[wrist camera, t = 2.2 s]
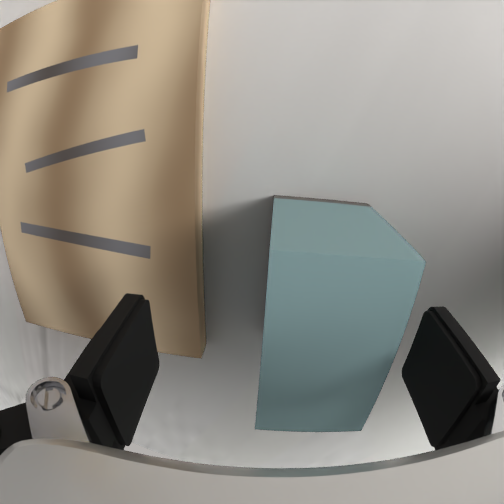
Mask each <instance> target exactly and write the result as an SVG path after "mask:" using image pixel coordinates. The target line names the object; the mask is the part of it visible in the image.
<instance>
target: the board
mask: <svg viewBox="0 0 504 504" xmlns="http://www.w3.org/2000/svg"><path fill="white" fill-rule="evenodd" d="M209 8H210V0H57V1H55V2H52V3H50V4H48V5H45V6H43V7H41V8H39V9H37V10H35V11H33V12H30V13H28V14H26V15H24V16H23V17H21V18H19V19H17V20H15V21H13V22H11V23H9V24H8V25H6V26H4V27H2V28H1V29H0V227H1V232H2V237H3V242H4V246H5V251H6V255H7V259H8V263H9V267H10V271H11V275H12V278H13V282H14V285H15V289H16V292H17V295H18V299H19V302H20V305H21V308H22V311H23V314H24V317H25V319H26V322H29V323H33V324H36V325H40V326H43V327H47V328H50V329H54V330H58V331H62V332H65V333H69V334H73V335H77V336H81V337H86V338H90V339H92V338H93V336H94V335H95V334H96V332H97V331H98V330H99V329H100V328H101V327H102V325H103V324H104V322H105V321H106V320H107V318H108V317H109V315H110V314H111V313H112V311H113V310H114V309H115V307H116V306H117V305H118V303H119V302H120V300H121V299H122V298H123V296H124V295H125V294H126V293H130V294H140V295H143V296H144V298H145V299H146V300H149V302H150V308H151V315H152V322H153V329H154V335H155V341H156V347H157V352H161V353H167V354H173V355H180V356H187V357H194V358H202V355H203V352H204V349H205V346H206V330H205V309H204V282H203V241H202V152H203V112H204V87H205V66H206V49H207V34H208V20H209Z"/></svg>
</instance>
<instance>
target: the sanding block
mask: <svg viewBox="0 0 504 504" xmlns="http://www.w3.org/2000/svg"><path fill="white" fill-rule="evenodd" d="M425 263H426V261H425V260H424V259H423V258H422V257H421V256H420V255H419V254H418V253H417V251H416V250H415V249H414V248H413V247H412V246H411V245H410V244H409V243H408V242H407V241H406V240H405V239H404V238H403V237H402V236H401V235H400V234H399V233H398V232H397V231H396V230H395V229H394V228H393V227H392V226H391V225H390V224H389V223H388V222H387V221H386V220H385V219H384V218H383V217H382V216H380V215H379V214H378V213H377V212H376V211H375V210H374V209H373V208H372V207H371V206H370V205H369V204H366V203H357V202H347V201H337V200H326V199H315V198H303V197H291V196H277V195H274V204H273V216H272V227H271V239H270V250H269V265H268V278H267V292H266V305H265V318H264V331H263V343H262V355H261V367H260V378H259V390H258V401H257V412H256V423H255V429H260V430H274V431H297V432H342V431H361V430H362V428H363V426H364V424H365V422H366V420H367V418H368V416H369V414H370V412H371V410H372V408H373V406H374V404H375V402H376V400H377V398H378V395H379V393H380V391H381V389H382V387H383V384H384V382H385V380H386V377H387V375H388V373H389V370H390V368H391V365H392V363H393V360H394V358H395V355H396V353H397V350H398V348H399V345H400V342H401V340H402V337H403V334H404V331H405V329H406V326H407V323H408V320H409V317H410V314H411V311H412V308H413V305H414V302H415V298H416V295H417V292H418V289H419V285H420V282H421V278H422V275H423V271H424V267H425Z"/></svg>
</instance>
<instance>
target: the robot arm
mask: <svg viewBox="0 0 504 504" xmlns="http://www.w3.org/2000/svg"><path fill="white" fill-rule="evenodd" d="M158 369H159V358H158V352H157V347H156V341H155V335H154V329H153V322H152V315H151V308H150V302H149V300H146V299H145V298H144V296H143V295H140V294H130V293H126V294H125V295H124V296H123V298H122V299H121V300H120V302H119V303H118V305H117V306H116V307H115V309H114V310H113V311H112V313H111V314H110V315H109V317H108V318H107V320H106V321H105V322H104V324H103V325H102V327H101V328H100V329H99V330H98V331H97V332H96V334H95V335H94V336H93V338H92V339H91V341H90V342H89V344H88V345H87V347H86V348H85V349H84V351H83V352H82V354H81V355H80V357H79V358H78V360H77V361H76V363H75V364H74V366H73V367H72V369H71V370H70V372H69V373H68V375H67V376H66V378H65V379H64V380H62V379H60V378H57V377H47V378H43V379H40V380H38V381H36V382H35V383H34V384H32V385H31V387H30V388H29V389H28V391H27V394H26V403H23V404H20V405H17V406H14V407H10V408H7V409H4V410H1V411H0V504H504V385H503V386H502V387H501V388H500V389H499V390H498V389H497V385H498V383H499V382H500V378H499V377H498V376H497V374H496V373H495V371H494V370H493V368H492V367H491V366H490V364H489V363H488V361H487V360H486V359H485V357H484V356H483V355H482V353H481V352H480V351H479V349H478V348H477V347H476V345H475V344H474V343H473V341H472V340H471V339H470V337H469V336H468V335H467V333H466V332H465V331H464V330H463V328H462V327H461V326H460V325H459V323H458V322H457V321H456V320H455V318H454V317H453V316H452V315H451V313H450V312H449V311H448V310H447V309H446V308H445V307H430V308H429V309H428V310H427V311H426V312H424V314H423V317H422V320H421V322H420V325H419V328H418V331H417V333H416V336H415V339H414V341H413V344H412V346H411V349H410V351H409V354H408V356H407V359H406V361H405V363H404V366H403V368H402V377H403V380H404V382H405V384H406V387H407V389H408V391H409V393H410V396H411V398H412V400H413V403H414V405H415V407H416V410H417V412H418V415H419V417H420V420H421V422H422V424H423V427H424V429H425V432H426V435H427V437H428V440H429V442H430V444H431V446H432V447H435V451H431V452H426V453H422V454H417V455H412V456H407V457H402V458H397V459H391V460H385V461H378V462H371V463H364V464H355V465H346V466H334V467H319V468H285V469H281V468H245V467H230V466H218V465H208V464H200V463H192V462H185V461H178V460H172V459H165V458H159V457H153V456H149V455H143V454H138V453H133V452H129V451H125V450H124V447H125V445H126V446H129V445H130V444H131V442H132V439H133V436H134V433H135V431H136V428H137V425H138V422H139V420H140V417H141V414H142V412H143V409H144V406H145V404H146V401H147V398H148V396H149V393H150V391H151V388H152V385H153V383H154V380H155V378H156V375H157V372H158Z"/></svg>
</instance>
